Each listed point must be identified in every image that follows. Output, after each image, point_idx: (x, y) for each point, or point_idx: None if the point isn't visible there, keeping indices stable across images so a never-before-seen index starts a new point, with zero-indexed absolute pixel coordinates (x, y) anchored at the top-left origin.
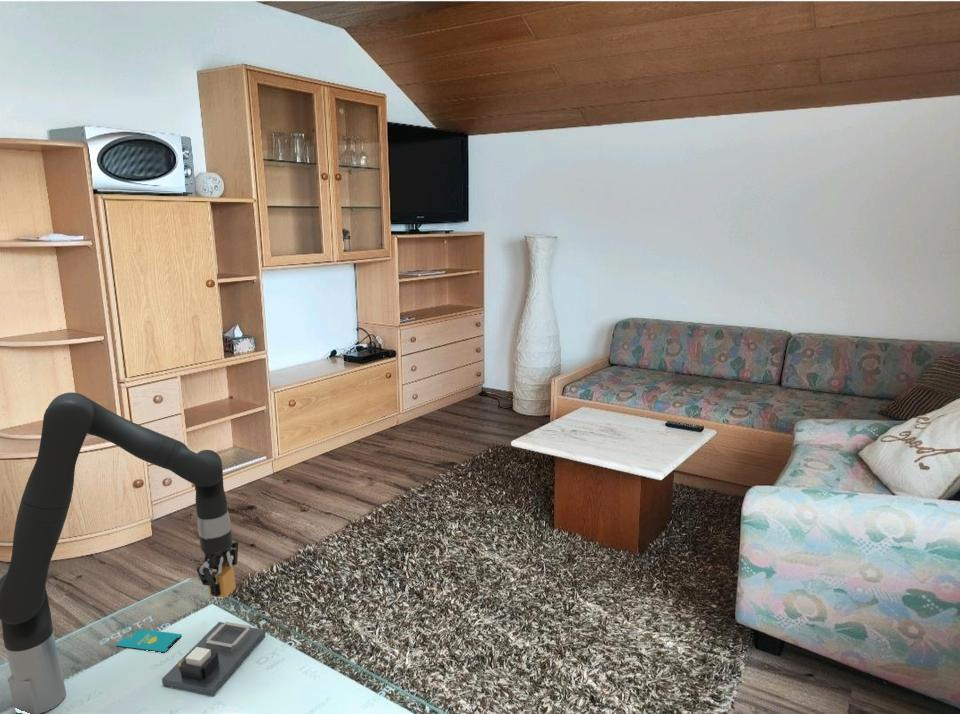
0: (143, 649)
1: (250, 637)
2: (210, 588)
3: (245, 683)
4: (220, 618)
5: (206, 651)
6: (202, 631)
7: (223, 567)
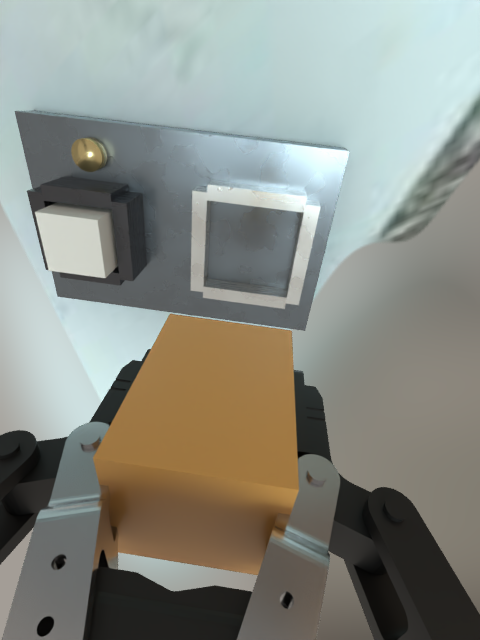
0: None
1: (265, 306)
2: (103, 400)
3: (132, 336)
4: (412, 112)
5: (92, 269)
6: (324, 76)
7: (247, 534)
